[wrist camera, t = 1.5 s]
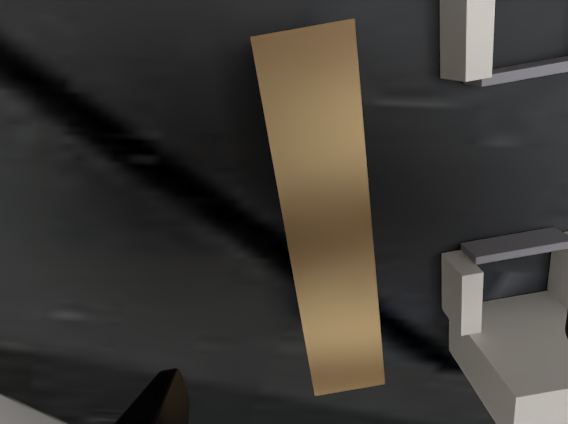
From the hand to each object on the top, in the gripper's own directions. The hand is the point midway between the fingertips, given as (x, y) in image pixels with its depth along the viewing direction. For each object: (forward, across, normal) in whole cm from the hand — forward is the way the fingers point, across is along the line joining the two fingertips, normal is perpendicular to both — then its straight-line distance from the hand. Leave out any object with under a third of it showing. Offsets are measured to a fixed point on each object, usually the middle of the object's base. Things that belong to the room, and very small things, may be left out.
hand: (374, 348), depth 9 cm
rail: (+10, 0, 0) cm, 10 cm away
